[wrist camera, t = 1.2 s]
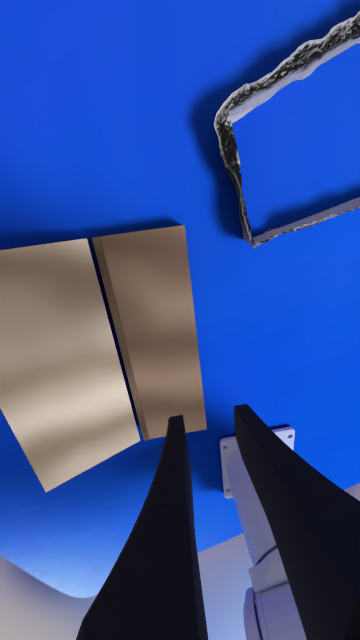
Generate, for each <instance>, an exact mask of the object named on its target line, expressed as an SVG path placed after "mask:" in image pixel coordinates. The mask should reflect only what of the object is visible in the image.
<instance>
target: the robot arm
mask: <svg viewBox="0 0 360 640" xmlns="http://www.w3.org/2000/svg"><path fill="white" fill-rule="evenodd" d="M234 416H235V436H233V437H227V438H222V439H221V440H220V453H221V465H222V477H223V488H224V496H225V497H226V498H233V497H234V500H235V504H236V507H237V511H238V514H239V518H240V522H241V525H242V529H243V532H244V536H245V539H246V543H247V546H248V550H249V553H250V557H251V559H252V562H253V566H254V567H252V568H251V569H249V574H250V577H251V581H252V585H253V587H251V588H249V589H247V591H246V597H245V603H244V611H243V614H244V626H245V633H246V639H247V640H360V501H358V500H357V499H356V498H354V497H353V496H351V495H350V494H348V493H347V492H345V491H344V490H342V489H341V488H340V487H338V486H337V485H335V484H334V483H333V482H331V481H330V480H329V479H327V478H326V477H325V476H323V475H322V474H321V473H320V472H318V471H317V470H316V469H314V468H313V467H312V466H311V465H310V464H308V463H307V462H306V461H305V460H304V459H302V458H301V457H300V456H299V455H298V454H297V453H295V452H294V451H293V448H294V436H295V430H294V429H293V428H292V427H285V428H279V429H274V430H271V429H270V428H269V427H268V426H267V425H266V424H265V423H264V422H263V421H262V420H261V419H260V418H259V417H258V415H257V414H256V413H255V412H254V411H253V410H252V409H251V408H250V407H249V405H247V404H244V405H238V406H234ZM76 640H208V633H207V626H206V618H205V610H204V602H203V595H202V587H201V579H200V571H199V563H198V555H197V547H196V539H195V528H194V511H193V493H192V476H191V465H190V458H189V451H188V444H187V438H186V431H185V425H184V419H183V415H178V416H172V417H170V418H169V419H168V426H167V433H166V437H165V442H164V446H163V450H162V453H161V457H160V461H159V464H158V467H157V470H156V473H155V476H154V479H153V482H152V485H151V487H150V490H149V492H148V495H147V498H146V500H145V502H144V505H143V507H142V510H141V512H140V514H139V516H138V518H137V521H136V523H135V525H134V527H133V529H132V532H131V534H130V536H129V538H128V540H127V542H126V544H125V546H124V548H123V549H122V551H121V553H120V555H119V557H118V559H117V561H116V563H115V565H114V567H113V569H112V571H111V572H110V574H109V576H108V578H107V580H106V581H105V583H104V585H103V586H102V588H101V590H100V592H99V593H98V595H97V597H96V598H95V600H94V602H93V604H92V605H91V607H90V609H89V610H88V612H87V614H86V615H85V617H84V619H83V621H82V624H81V626H80V630H79V632H78V636H77V638H76Z"/></svg>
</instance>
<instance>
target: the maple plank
mask: <svg viewBox="0 0 360 640" xmlns="http://www.w3.org/2000/svg"><path fill="white" fill-rule="evenodd" d="M0 409H1V410H2V412H3V414H4V416H5V418H6V420H7V421H8V423H9V425H10V427H11V429H12V431H13V432H14V434H15V436H16V438H17V440H18V442H19V444H20V445H21V447H22V449H23V451H24V453H25V455H26V456H27V458H28V460H29V462H30V464H31V466H32V468H33V469H34V471H35V473H36V475H37V477H38V479H39V480H40V482H41V484H42V486H43V488H44V490H45V491H46V492H48V491H50V490H51V489H53V488H55V487H57V486H59V485H61V484H62V483H64V482H66V481H68V480H70V479H71V478H73V477H75V476H77V475H79V474H81V473H82V472H84V471H86V470H88V469H90V468H91V467H93V466H95V465H97V464H99V463H100V462H102V461H104V460H106V459H108V458H110V457H111V456H113V455H115V454H117V453H119V452H120V451H122V450H124V449H126V448H128V447H130V446H131V445H133V444H135V443H137V442H139V441H140V437H139V433H138V430H137V426H136V422H135V418H134V415H133V411H132V407H131V403H130V399H129V396H128V392H127V388H126V384H125V380H124V377H123V373H122V369H121V365H120V362H119V358H118V354H117V350H116V346H115V343H114V339H113V335H112V331H111V328H110V324H109V320H108V316H107V312H106V309H105V305H104V301H103V297H102V293H101V290H100V286H99V282H98V278H97V275H96V271H95V267H94V263H93V259H92V256H91V252H90V248H89V244H88V240H87V238H85V239H78V240H70V241H63V242H56V243H49V244H42V245H34V246H27V247H20V248H13V249H6V250H0Z"/></svg>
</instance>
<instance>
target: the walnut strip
mask: <svg viewBox="0 0 360 640" xmlns="http://www.w3.org/2000/svg"><path fill="white" fill-rule="evenodd" d="M92 241H93V245H94V248H95V252H96V256H97V260H98V264H99V268H100V272H101V276H102V280H103V283H104V287H105V291H106V295H107V299H108V303H109V307H110V311H111V315H112V319H113V322H114V326H115V330H116V334H117V338H118V342H119V346H120V350H121V354H122V358H123V361H124V365H125V369H126V373H127V377H128V381H129V385H130V389H131V393H132V397H133V400H134V404H135V408H136V412H137V416H138V420H139V424H140V428H141V432H142V436H143V439H144V441H147V440H149V439H153V438H159V437H165V436H166V433H167V426H168V419H169V418H170V417H172V416H178V415H183V419H184V425H185V431H186V433H189V432H195V431H200V430H206V429H207V424H206V415H205V406H204V397H203V388H202V379H201V369H200V360H199V351H198V342H197V333H196V324H195V315H194V306H193V297H192V288H191V278H190V269H189V260H188V251H187V242H186V233H185V225H180V226H172V227H165V228H158V229H150V230H143V231H136V232H129V233H121V234H114V235H107V236H99V237H93V238H92Z"/></svg>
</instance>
